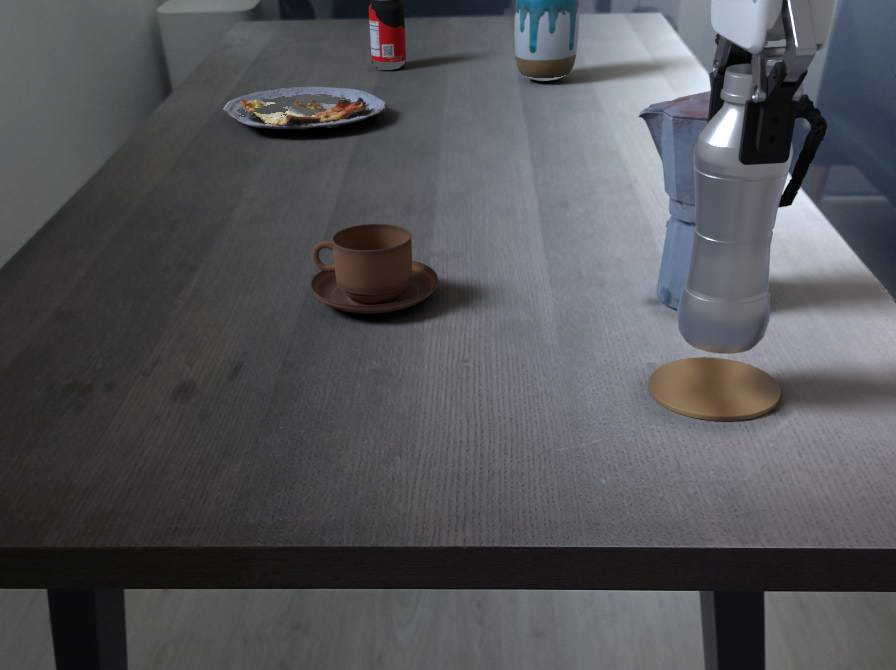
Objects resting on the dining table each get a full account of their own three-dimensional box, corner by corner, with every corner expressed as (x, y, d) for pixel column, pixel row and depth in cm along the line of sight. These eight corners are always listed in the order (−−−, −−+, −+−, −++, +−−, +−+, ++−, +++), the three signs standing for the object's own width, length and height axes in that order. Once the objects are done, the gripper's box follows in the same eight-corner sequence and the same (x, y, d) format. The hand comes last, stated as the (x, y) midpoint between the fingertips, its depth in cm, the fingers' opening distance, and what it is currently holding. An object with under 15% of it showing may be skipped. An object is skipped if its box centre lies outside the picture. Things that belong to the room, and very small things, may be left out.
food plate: (409, 126, 154) (408, 101, 152) (260, 150, 146) (257, 124, 144) (344, 94, 173) (343, 72, 171) (209, 114, 165) (206, 91, 163)
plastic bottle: (756, 370, 75) (801, 82, 65) (663, 355, 78) (692, 76, 67) (771, 335, 80) (815, 62, 69) (684, 322, 83) (713, 57, 72)
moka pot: (626, 274, 102) (643, 58, 91) (790, 281, 99) (828, 59, 88) (622, 313, 94) (640, 82, 83) (801, 322, 91) (843, 83, 80)
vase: (537, 90, 170) (540, -39, 160) (501, 79, 178) (502, -45, 168) (589, 81, 175) (595, -46, 164) (552, 71, 182) (556, -51, 172)
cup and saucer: (307, 327, 94) (301, 262, 91) (317, 277, 104) (312, 217, 101) (439, 322, 94) (437, 257, 90) (437, 273, 104) (435, 213, 101)
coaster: (755, 358, 85) (756, 353, 85) (799, 417, 77) (800, 412, 77) (635, 365, 85) (635, 360, 85) (666, 425, 77) (667, 420, 77)
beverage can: (406, 71, 187) (403, -2, 181) (371, 72, 187) (367, 0, 181) (406, 64, 193) (404, -7, 186) (372, 65, 193) (369, -6, 186)
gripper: (915, -159, 54) (850, 182, 64) (795, -163, 69) (757, 115, 78) (774, -153, 54) (730, 189, 64) (683, -159, 69) (659, 120, 78)
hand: (745, 145), depth 71 cm, fingers closed on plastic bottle, 6 cm apart
